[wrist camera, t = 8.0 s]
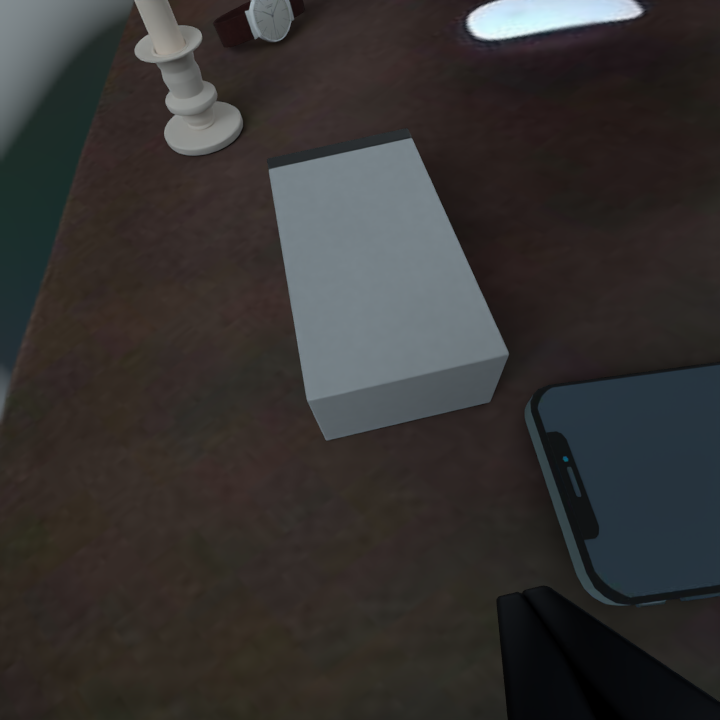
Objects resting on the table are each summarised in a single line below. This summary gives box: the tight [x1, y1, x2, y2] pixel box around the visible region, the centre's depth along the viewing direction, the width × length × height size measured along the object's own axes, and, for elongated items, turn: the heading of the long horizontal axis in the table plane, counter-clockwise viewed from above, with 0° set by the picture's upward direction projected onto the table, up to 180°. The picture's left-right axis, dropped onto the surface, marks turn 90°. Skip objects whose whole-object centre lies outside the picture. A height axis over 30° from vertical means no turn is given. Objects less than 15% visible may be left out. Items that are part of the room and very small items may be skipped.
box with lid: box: [267, 129, 509, 440], centre depth 20 cm, size 4×7×13 cm
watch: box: [213, 0, 305, 47], centre depth 34 cm, size 8×5×4 cm, turn 131°
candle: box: [135, 0, 243, 156], centre depth 25 cm, size 5×5×10 cm
